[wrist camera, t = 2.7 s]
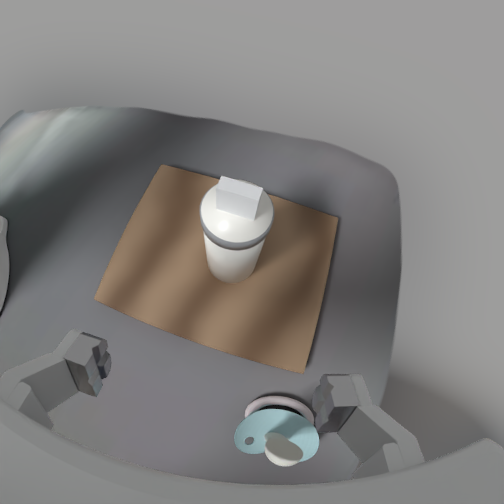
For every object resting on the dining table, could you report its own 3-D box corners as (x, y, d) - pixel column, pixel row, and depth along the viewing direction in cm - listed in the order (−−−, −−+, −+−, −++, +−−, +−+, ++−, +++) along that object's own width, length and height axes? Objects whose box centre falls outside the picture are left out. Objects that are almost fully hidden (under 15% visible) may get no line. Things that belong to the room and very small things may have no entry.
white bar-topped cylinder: (199, 274, 24) (183, 210, 14) (216, 230, 26) (215, 148, 15) (248, 291, 24) (269, 237, 14) (262, 245, 26) (289, 170, 15)
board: (98, 301, 23) (93, 299, 22) (163, 170, 29) (161, 164, 28) (299, 373, 23) (303, 373, 22) (334, 223, 29) (338, 218, 28)
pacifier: (248, 386, 22) (227, 443, 20) (257, 393, 17) (230, 467, 14) (322, 404, 22) (303, 459, 20) (352, 413, 16) (326, 482, 14)
